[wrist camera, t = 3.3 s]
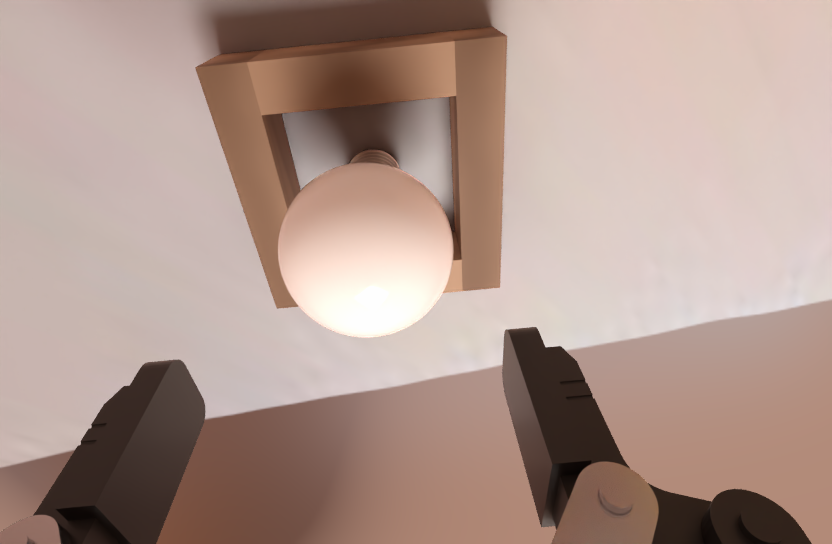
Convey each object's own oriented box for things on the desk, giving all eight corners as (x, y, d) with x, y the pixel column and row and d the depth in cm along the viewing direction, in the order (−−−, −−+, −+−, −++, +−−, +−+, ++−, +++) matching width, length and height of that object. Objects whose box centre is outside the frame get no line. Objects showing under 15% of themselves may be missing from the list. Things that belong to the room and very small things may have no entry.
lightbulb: (355, 242, 25) (334, 397, 16) (285, 146, 22) (212, 272, 13) (456, 192, 24) (495, 332, 15) (398, 81, 21) (403, 173, 12)
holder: (492, 26, 20) (506, 35, 17) (489, 257, 26) (499, 287, 24) (219, 54, 20) (195, 67, 17) (287, 276, 26) (277, 308, 24)
